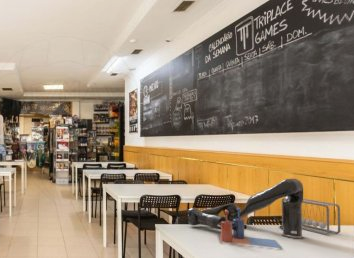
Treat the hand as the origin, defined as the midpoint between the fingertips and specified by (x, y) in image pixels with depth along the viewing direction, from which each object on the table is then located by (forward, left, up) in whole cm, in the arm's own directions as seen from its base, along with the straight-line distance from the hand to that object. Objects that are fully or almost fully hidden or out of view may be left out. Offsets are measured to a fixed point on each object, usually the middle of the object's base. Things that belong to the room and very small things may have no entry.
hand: (241, 227), depth 187 cm
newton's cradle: (-45, +44, -7) cm, 63 cm away
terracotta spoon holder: (+9, -8, -6) cm, 13 cm away
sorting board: (+4, +3, -6) cm, 8 cm away
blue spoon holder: (-1, -1, -6) cm, 6 cm away
